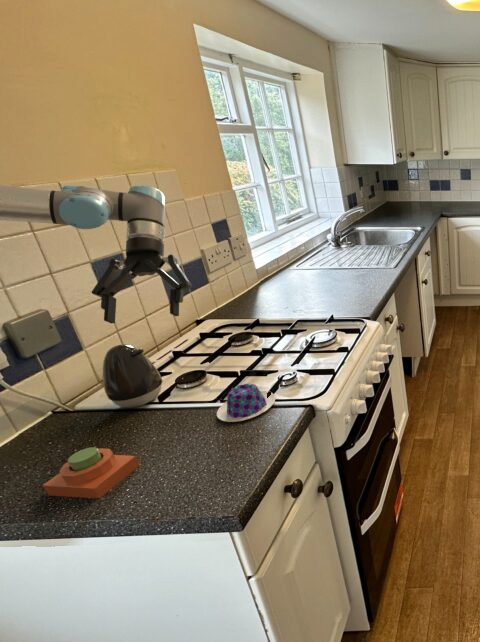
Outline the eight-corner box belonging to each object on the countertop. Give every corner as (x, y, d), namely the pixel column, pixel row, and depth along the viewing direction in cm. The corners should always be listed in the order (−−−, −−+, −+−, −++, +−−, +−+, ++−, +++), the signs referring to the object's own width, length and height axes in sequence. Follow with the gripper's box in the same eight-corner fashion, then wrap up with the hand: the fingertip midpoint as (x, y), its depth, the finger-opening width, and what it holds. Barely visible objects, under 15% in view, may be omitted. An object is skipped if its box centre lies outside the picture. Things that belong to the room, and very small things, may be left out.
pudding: (286, 403, 99) (281, 385, 97) (232, 431, 90) (226, 411, 88) (260, 388, 105) (255, 370, 103) (207, 412, 96) (201, 393, 94)
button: (65, 470, 74) (61, 462, 73) (88, 455, 78) (84, 446, 77) (86, 472, 74) (81, 463, 73) (108, 456, 78) (104, 447, 77)
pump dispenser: (144, 413, 96) (120, 357, 90) (100, 413, 96) (74, 356, 90) (178, 388, 105) (158, 335, 99) (138, 388, 105) (116, 335, 99)
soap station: (48, 495, 74) (37, 476, 72) (92, 462, 81) (83, 445, 80) (99, 498, 73) (89, 479, 72) (140, 465, 81) (131, 447, 79)
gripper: (206, 244, 116) (206, 315, 110) (97, 252, 109) (92, 328, 103) (193, 231, 109) (193, 307, 103) (76, 239, 102) (68, 320, 96)
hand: (142, 318), depth 103 cm, fingers open, 13 cm apart
